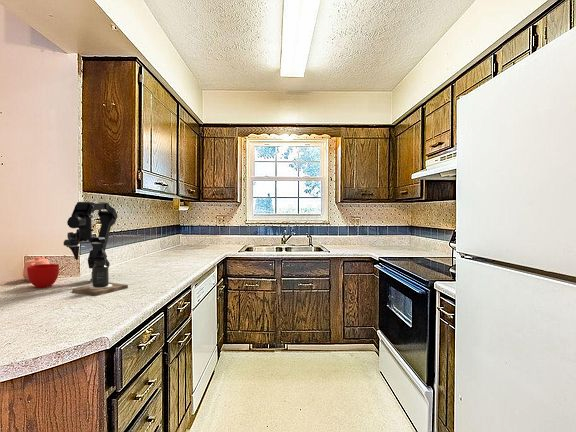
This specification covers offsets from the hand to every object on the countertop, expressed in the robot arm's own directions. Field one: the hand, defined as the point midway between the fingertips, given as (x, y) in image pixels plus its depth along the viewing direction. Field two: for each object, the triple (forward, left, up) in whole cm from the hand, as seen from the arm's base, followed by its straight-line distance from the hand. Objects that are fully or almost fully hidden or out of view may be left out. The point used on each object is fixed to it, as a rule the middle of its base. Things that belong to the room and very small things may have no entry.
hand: (85, 258), depth 186 cm
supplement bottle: (+4, +16, -11) cm, 20 cm away
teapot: (+2, -36, -13) cm, 38 cm away
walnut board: (+4, +16, -13) cm, 21 cm away
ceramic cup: (+11, -17, -13) cm, 24 cm away
